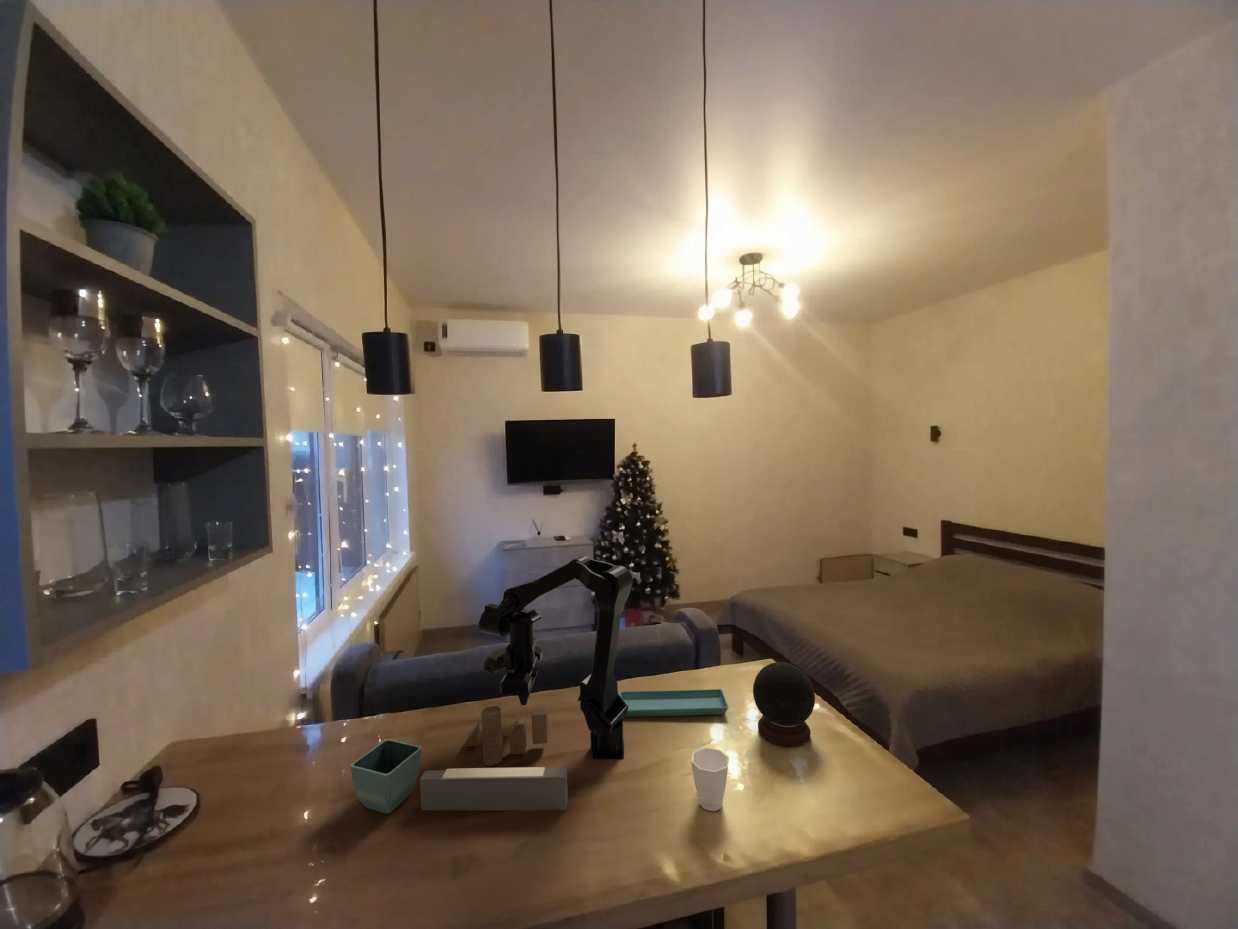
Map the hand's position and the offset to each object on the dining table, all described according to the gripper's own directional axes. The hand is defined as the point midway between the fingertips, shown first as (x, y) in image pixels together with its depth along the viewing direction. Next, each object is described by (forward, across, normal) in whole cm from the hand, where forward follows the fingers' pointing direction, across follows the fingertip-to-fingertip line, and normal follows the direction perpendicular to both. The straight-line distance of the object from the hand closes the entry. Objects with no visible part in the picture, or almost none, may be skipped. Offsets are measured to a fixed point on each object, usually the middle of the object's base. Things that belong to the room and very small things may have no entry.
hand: (523, 704), depth 116 cm
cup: (+5, +24, +39) cm, 46 cm away
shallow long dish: (+6, -8, +35) cm, 36 cm away
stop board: (+5, +26, 0) cm, 26 cm away
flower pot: (+5, +25, -20) cm, 32 cm away
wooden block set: (+5, +11, -2) cm, 12 cm away
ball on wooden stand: (+5, +3, +59) cm, 59 cm away
